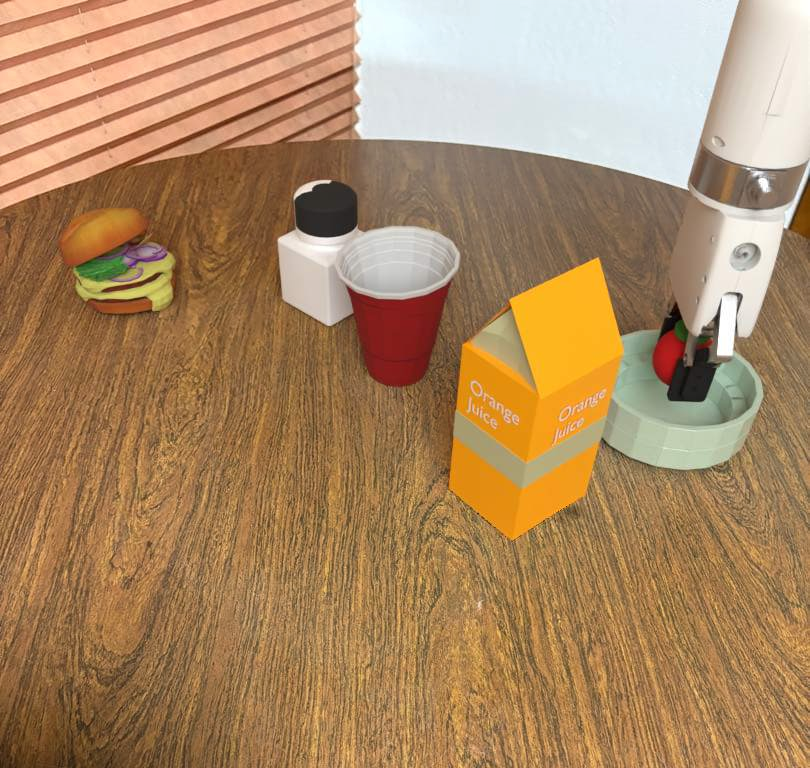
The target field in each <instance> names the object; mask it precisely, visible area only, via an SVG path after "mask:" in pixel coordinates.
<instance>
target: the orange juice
mask: <svg viewBox="0 0 810 768" xmlns="http://www.w3.org/2000/svg"><path fill="white" fill-rule="evenodd" d="M607 286H608V285H607V283H606V279H605V275H604V271H603V268H602V264H601V261H600V257H599V256H598V257H596V258H593V259H591V260H588V261H587V262H585V263H583V264H581V265H579V266H576V267H574V268H573V269H570V270H568V271H566V272H564V273H562V274H560V275H558V276H555V277H553V278H551V279H549V280H547V281H545V282H542V283H540V284H538V285H537V286H534V287H532V288H530V289H528V290H526V291H524V292H521V293H520V294H517V295H515V296H514V297H511V298H509V302H508V303H507V304H506V305H505V306H504V307H503V308H502V309H501V310H499V312H498V313H497V314H496V315H495V316H493V317H492V318H491V319H490V320H489V321H488V322H487V323H486V324H485V325H484V326H483V327H481V328H480V329H479V330H478V331H477V332H476V333H475V334H474V335H473V336H472V337H471V338H469V339H468V340H467V341H466V342H464V343H462V346H461V356H460V358H461V359H460V367H459V376H458V388H457V398H456V407H455V408H456V409H455V411H454V421H453V431H452V436H453V440H452V449H451V450H452V451H451V460H450V461H451V462H450V469H449V470H450V471H449V481H448V490H449V489H450V490H451V491H453V493H455V494H456V495H457V496H459V497H460V498H461V499H462V500H463V501H464V502H466V503H467V504H468V505H470V506H471V507H472V508H473V509H474V510H475V511H477V512H478V513H479V514H480V515H481V516H483V517H484V518H485V519H486V520H488V522H490V523H491V524H492V525H494V527H496V528H497V529H498V530H500V531H501V532H502V533H504V535H506V536H507V537H508V538H510V540H514V539H515V538H517V537H519V536H520V535H523V533H525V532H527V531H528V530H530V529H531V528H533V527H534V526H536V525H537V524H539V523H540V522H542V521H543V520H545V519H546V518H549V517H550V516H552V515H553V514H555V513H556V512H558V511H559V512H558V513H560V512H561V511H563V510H564V509H565V508H567V507H569V506H570V505H572V504H573V503H575V502H577V501H578V500H580V499H581V498H583V497H584V496H586V495H587V490H588V487H589V484H590V481H591V480H590V479H591V475H592V472H593V468H594V464H595V460H596V457H597V453H598V450H599V446H600V441H601V440H602V433H603V430H604V426H605V422H606V418H607V412H608V408H609V404H610V400H611V397H612V393H613V389H614V385H615V382H616V378H617V374H618V370H619V366H620V363H621V359H622V355H623V353H624V349H623V345H622V342H621V338H620V336H621V334H620V331H619V328H618V323H617V320H616V316H615V313H614V309H613V305H612V301H611V297H610V294H609V291H608V287H607ZM450 493H451V494H452V495H454V494H453V493H452V492H450ZM456 498H457V499H458V500H460V499H459V498H458V497H456ZM577 499H578V500H577ZM574 501H575V502H574ZM464 502H462V503H463V504H464V505H466V504H465V503H464ZM569 504H570V505H569ZM566 506H567V507H566ZM468 508H469V509H470V510H472V509H471V508H470V507H468ZM563 508H564V509H563ZM561 509H562V510H561ZM560 510H561V511H560ZM474 513H475V514H476V515H478V514H477V513H476V512H474ZM558 513H556V514H555V515H557V514H558ZM555 515H553V516H555ZM481 516H479V517H480V518H481V519H483V518H482V517H481ZM553 516H552V517H553ZM552 517H550V518H549V519H551V518H552ZM546 521H547V520H545V521H544V522H546ZM485 522H486V523H487V524H489V523H488V522H487V521H485ZM544 522H542V523H544ZM542 523H541V524H542ZM541 524H539V525H538V526H540V525H541ZM538 526H536V527H535V528H537V527H538ZM491 527H492V528H493V529H495V528H494V527H493V526H491ZM535 528H533V529H532V530H534V529H535ZM532 530H530V531H529V532H531V531H532ZM497 532H498V533H499V534H501V533H500V532H499V531H497ZM529 532H527V533H526V534H528V533H529ZM526 534H524V535H523V536H525V535H526ZM503 537H504V538H505V539H507V538H506V537H505V536H503ZM520 538H521V537H519V538H518V539H520ZM518 539H516V540H515V541H517V540H518ZM515 541H513V542H511V541H509V542H510V543H512V544H513V543H514V542H515Z"/></svg>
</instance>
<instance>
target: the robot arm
mask: <svg viewBox="0 0 810 768" xmlns="http://www.w3.org/2000/svg"><path fill="white" fill-rule="evenodd" d="M732 19H733V20H732V23H731V26H730V31H729V34H728V37H727V41H726V44H725V48H724V52H723V55H722V59H721V63H720V65H719V69H718V73H717V77H716V80H715V84H714V87H713V90H712V94H711V97H710V102H709V105H708V109H707V113H706V117H705V119H704V123H703V127H702V130H701V135H700V137H699V140H698V143H697V147H696V148H697V149H696V151H695V154H694V158H693V162H692V164H691V165H692V166H691V169H690V172H689V176H688V180H687V183H686V184H687V185H686V186H687V189H688V192H689V193H690V197H689V199H688V202H687V205H686V208H685V211H684V213H683V216H682V219H681V223H680V226H679V228H678V232H677V235H676V239H675V242H674V246H673V250H672V253H671V257H670V263H669V268H668V279H669V284H670V286H671V290H672V293H671V295H670V297H669V300H668V302H667V304H666V310H665V313H666V317H664V318H663V321H662V322H663V323H662V325H661V328H660V329H661V332H660V335H659V338H658V341H659V340H660V339H661V338H662V337H663V336H664V335H665V334H666V333H668V332H669V331H671V330H673V329H674V328H675V325H676V323H677V322H678V321H679V320H681V319H683V321H684V323H685V326H686V328H687V329H688V331H689V333H688V338H687V342H686V347H685V352H684V357H683V358H682V359H679V358H678V361H677V364H676V367H675V370H674V373H673V376H672V379H671V383H670V386H669V389H668V392H667V397H668V400H669V401H677V402H703V401H705V399H706V397H707V394H708V392H709V389H710V386H711V383H712V381H713V378H714V375H715V372H716V370H717V368H719V367H720V365H721V364H722V363H726V362H730V361H731V360H732V357H733V350H734V347H735V337H736V336H737V338H741V339H747V338H749V337H750V336H751V335H752V334H753V331H754V328H755V326H756V323H757V320H758V318H759V315H760V312H761V309H762V306H763V303H764V300H765V298H766V294H767V291H768V288H769V285H770V281H771V278H772V274H773V272H774V269H775V266H776V261H777V257H778V254H779V251H780V245H781V243H782V242H781V241H782V237H783V232H784V227H785V222H786V211H789V209H790V208H791V207H792V206H793V204H794V201H795V199H796V196H797V194H798V191H799V189H800V186H801V183H802V180H803V179H804V175H805V173H806V170H807V167H808V165H809V162H810V0H738V2H737V5H736V9H735V13H734V16H733V18H732ZM711 322H713V325H709V324H710V323H711ZM707 325H709V326H707ZM735 335H736V336H735ZM699 337H711V338H712V339H713V341H712V344H711V346H709V347H702V348H700V349H698V350H697V345H698V341H699ZM657 343H658V342H657Z"/></svg>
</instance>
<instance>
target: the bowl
mask: <svg viewBox="0 0 810 768" xmlns="http://www.w3.org/2000/svg"><path fill="white" fill-rule="evenodd" d="M660 332H661V328H655V329H641V330H637V331H633V332H630V333H627V334H623V335H620V338H621V342H622V345H623V349H624V353H623V355H622V359H621V363H620V366H619V370H618V374H617V378H616V382H615V385H614V389H613V393H612V397H611V400H610V404H609V408H608V412H607V418H606V422H605V426H604V430H603V433H602V437H601V439H603V440H604V442H606V443H607V444H608V445H609V446H611V447H612V448H613V449H615V450H617V452H618V451H619V452H620V453H622V454H623V455H625V456H626V457H628V458H630V459H632V460H636V461H638V462H642V463H645V464H646V465H650V466H653V467H656V468H665V469H671V470H679V471H689V470H701V469H709V468H711V467H714V466H716V465H719V464H722V463H724V462H728V461H729V460H730V459H731V458H732V457H734V455H736V454H737V453H738V452H739V451H740V450H741V449H742V448H743V446H744V444H745V442H746V439H747V437H748V434H749V432H750V430H751V428H752V426H753V424H754V420H755V418H756V416H757V414H758V411H759V410H760V406H761V404H762V402H763V398H764V396H765V393H764V389H763V381H762V379H761V377H760V376H759V374H758V373H757V371H756V369H755V368H754V367H753V365H752V364H751V363H750V362H749V361H748V360H747V359H745V358H744V357H743V356H741V354H739V353H738V352H737V351H735V350H734V349H733V357H732V360H731V361H730V362H726V363H722V364H721V365H720V367H719V368H717V370H716V372H715V375H714V378H713V381H712V383H711V386H710V389H709V392H708V394H707V397H706V399H705V401H703V402H677V401H669V400H668V397H667V392H668V389H669V386H667V385H666V384H664V383H663V382H662V381H661V380H660V379H659V378H658V377H657V375H656V373H655V371H654V368H653V363H652V357H653V352H654V349H655V346H656V344H657V342H658V338H659V335H660ZM711 340H712V341H713V338H711Z"/></svg>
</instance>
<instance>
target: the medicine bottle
mask: <svg viewBox="0 0 810 768" xmlns="http://www.w3.org/2000/svg"><path fill="white" fill-rule="evenodd" d="M358 209H359V208H358V194H357V192H356V191H355V190H354V189H353V188H352V187H351V186H350V185H348V184H346V183H344V182H340V181H337V180H331V179H319V180H315V181H310V182H307V183H305V184H303V185H301V186H299V187H298V188H297V189H296V190H295V192H294V194H293V210H294V225H295V229H294V230H292V231H290V232H287V233H285V234H283V235H282V236H279V237H278V238H277V251H278V253H277V254H278V264H279V275H280V286H281V299H282V301H284V302H285V303H286V304H288V305H290V306H292V307H293V308H294V309H295V308H296V309H297V310H299V311H300V312H303V313H304V314H306V315H308V316H310V317H311V318H313V319H315V320H316V321H317V322H320V323H322V324H323V325H325V326H326V327H329V326H330V327H332V326H334V325H336V324H338V323H339V322H340V321H342V320H345V319H346V318H348V317H349V316H351V315H354V313H353V308H352V304H351V299H350V296H349V293H348V290H347V287H346V285H345V284H344V283H343V282H342V281H341V279H340V277H339V275H338V272H337V270H336V268H335V265H334V264H335V260H336V257H337V253H338V251H339V250H340V249H341V248H342V247H343V246H344V245H345V244H346V243H347V242H348V241H349V240H350V239H352V238H354V237H356V236H358V235H361V234H363V233H365V232H366V231H363V230H361V229H359V228H358V227H359V223H358V222H359V221H358V220H359V218H358V213H359V212H358Z"/></svg>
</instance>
